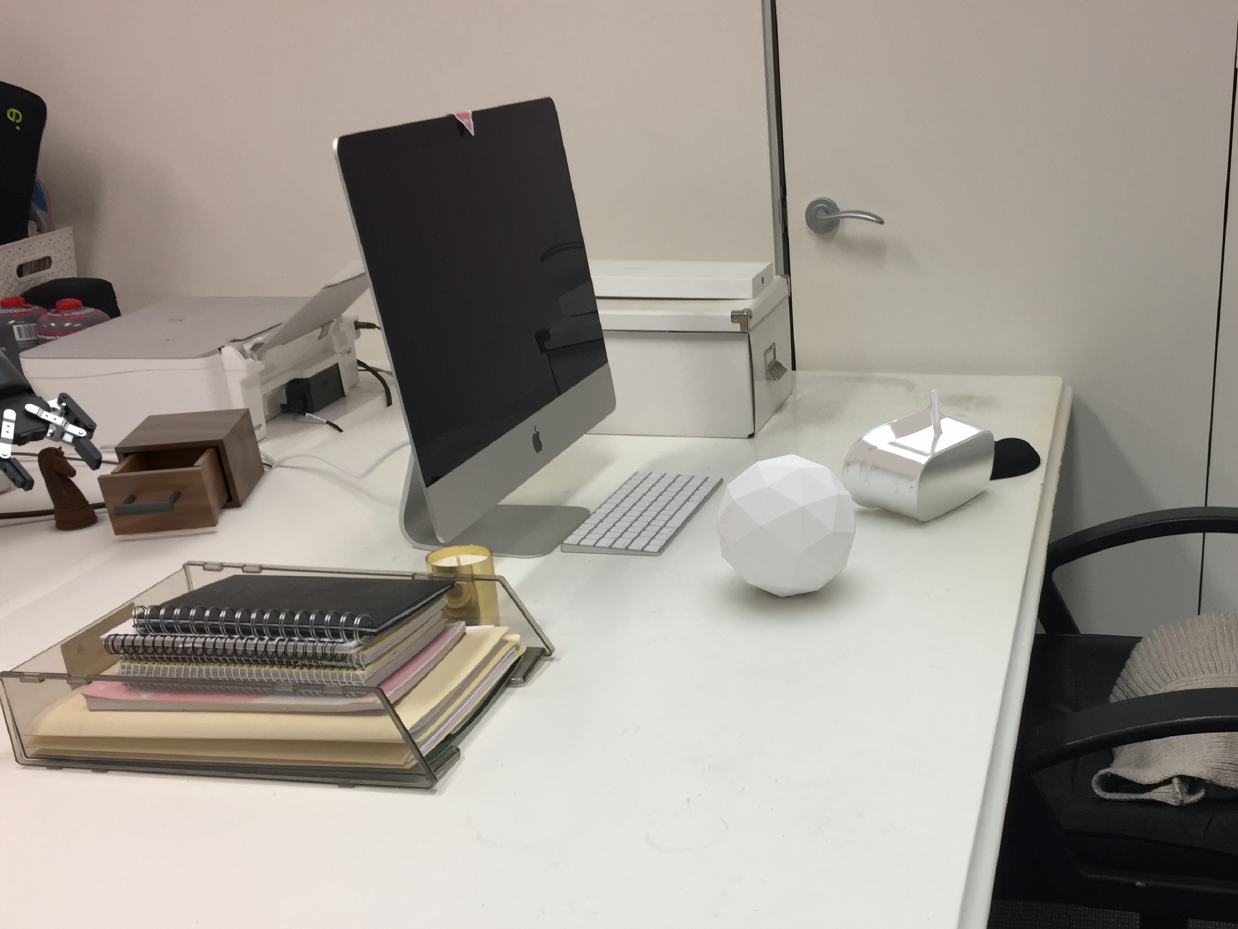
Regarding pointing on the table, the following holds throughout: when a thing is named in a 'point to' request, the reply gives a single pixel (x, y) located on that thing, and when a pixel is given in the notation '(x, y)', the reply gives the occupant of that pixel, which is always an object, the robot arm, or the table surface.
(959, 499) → the vr headset
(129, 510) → the drawer
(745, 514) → the geometric sphere
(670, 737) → the table surface
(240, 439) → the cabinet
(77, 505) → the chess piece
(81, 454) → the robot arm
